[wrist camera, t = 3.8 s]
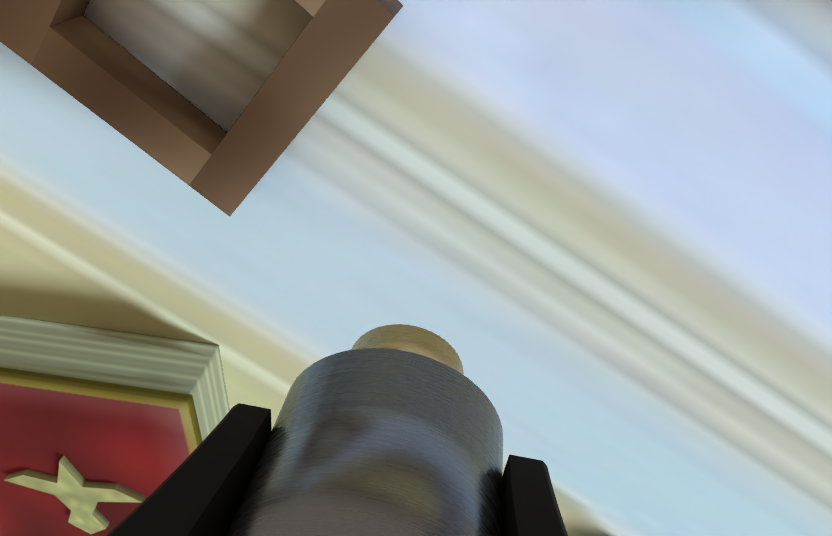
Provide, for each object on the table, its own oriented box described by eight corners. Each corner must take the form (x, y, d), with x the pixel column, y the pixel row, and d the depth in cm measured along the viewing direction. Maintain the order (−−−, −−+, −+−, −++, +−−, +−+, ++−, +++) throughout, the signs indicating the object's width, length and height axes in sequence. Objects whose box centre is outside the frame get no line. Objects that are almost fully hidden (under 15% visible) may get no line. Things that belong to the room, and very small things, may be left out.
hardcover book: (83, 567, 37) (39, 640, 33) (-45, 294, 25) (-134, 362, 22) (272, 599, 36) (246, 678, 32) (231, 331, 24) (183, 408, 21)
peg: (546, 377, 13) (570, 762, 7) (414, 461, 15) (353, 808, 10) (394, 252, 12) (284, 601, 6) (272, 363, 14) (110, 696, 8)
